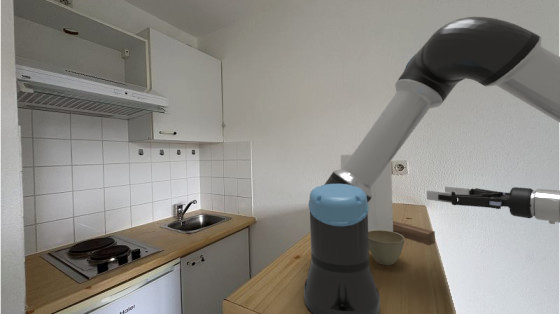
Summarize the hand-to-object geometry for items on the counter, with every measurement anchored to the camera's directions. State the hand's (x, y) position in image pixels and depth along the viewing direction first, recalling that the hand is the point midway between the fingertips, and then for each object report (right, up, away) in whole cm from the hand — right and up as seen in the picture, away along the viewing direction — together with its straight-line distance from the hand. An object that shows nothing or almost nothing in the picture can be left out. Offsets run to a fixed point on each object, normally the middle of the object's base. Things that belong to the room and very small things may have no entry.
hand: (436, 192), depth 74 cm
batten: (-7, -17, +11) cm, 22 cm away
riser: (-19, -17, +9) cm, 27 cm away
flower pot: (-22, -18, -11) cm, 30 cm away
